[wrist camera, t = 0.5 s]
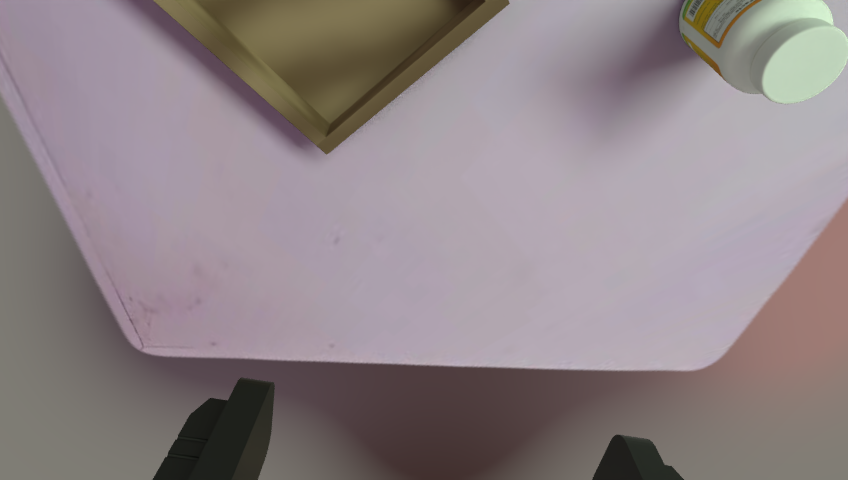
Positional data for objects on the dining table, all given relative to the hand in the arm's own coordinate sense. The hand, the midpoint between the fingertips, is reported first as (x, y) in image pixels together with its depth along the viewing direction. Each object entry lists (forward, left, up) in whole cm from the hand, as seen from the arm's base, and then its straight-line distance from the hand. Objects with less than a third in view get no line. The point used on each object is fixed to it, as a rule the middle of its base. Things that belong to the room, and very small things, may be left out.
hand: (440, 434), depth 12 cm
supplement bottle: (+11, +15, -29) cm, 34 cm away
